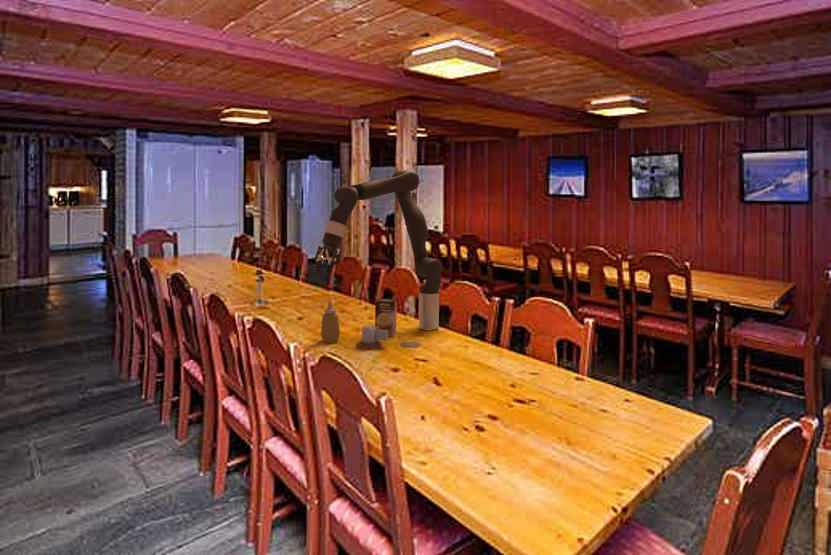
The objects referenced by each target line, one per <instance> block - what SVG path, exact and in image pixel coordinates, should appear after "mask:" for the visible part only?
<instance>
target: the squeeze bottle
mask: <svg viewBox="0 0 831 555" xmlns="http://www.w3.org/2000/svg"><path fill="white" fill-rule="evenodd" d="M332 302H333V301H332V300H328V302H327V306H326V308H325V309H324V314H323V315H322V318H321V326H320V327H321V330H320V336H321V338H322V339H321V340H322V342H323V343H324V344H334V343H335V344H336V343H338V341H339V338H340V335H341V330H340V320H339V315H338V314H337V309H336V308H334V307H333V303H332Z"/></svg>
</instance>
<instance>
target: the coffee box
mask: <svg viewBox="0 0 831 555" xmlns="http://www.w3.org/2000/svg"><path fill="white" fill-rule="evenodd" d="M397 300H398V299H395V298H392V299H391V298H377V299H376V300H375V302H374V304H375V306H374V308H375V310H374V314H375V315H374V317H375V318H374V326H375V327H376V330H388V337H395V336H396V335H397V310H398V308H397V305H398V304H397Z"/></svg>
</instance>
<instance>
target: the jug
mask: <svg viewBox="0 0 831 555" xmlns="http://www.w3.org/2000/svg"><path fill="white" fill-rule="evenodd" d="M361 340H362V344H363V345H374V344H376V340H378V341H381V342H387V341H388V340H389V336H388V330H376V327H375V325H364V326H362V327H361Z"/></svg>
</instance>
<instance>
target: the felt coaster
mask: <svg viewBox="0 0 831 555" xmlns="http://www.w3.org/2000/svg"><path fill="white" fill-rule="evenodd" d="M398 345H399V346H400V347H403V348H406V349H407V348H408V349H410V348H413V349H414V348H419V347H421V346H422V344H421V343H420V342H417V341H404V342H403V341H402V342H400V343H399V344H398Z"/></svg>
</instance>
